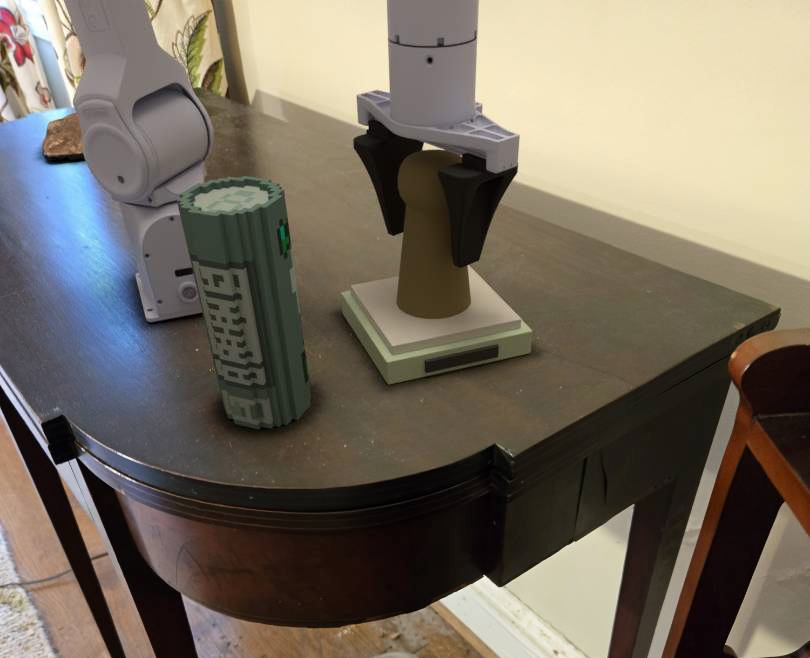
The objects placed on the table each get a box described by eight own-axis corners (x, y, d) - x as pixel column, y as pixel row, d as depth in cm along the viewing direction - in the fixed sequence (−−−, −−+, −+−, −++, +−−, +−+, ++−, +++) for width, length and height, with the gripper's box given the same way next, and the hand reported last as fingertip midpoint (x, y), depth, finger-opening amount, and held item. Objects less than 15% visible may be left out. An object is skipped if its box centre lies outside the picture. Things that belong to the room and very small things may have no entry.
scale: (532, 355, 61) (535, 323, 59) (389, 387, 58) (387, 354, 56) (470, 288, 69) (471, 258, 67) (342, 313, 66) (339, 283, 64)
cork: (465, 321, 59) (470, 171, 51) (388, 315, 60) (382, 167, 52) (476, 285, 63) (482, 142, 56) (404, 280, 64) (400, 138, 57)
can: (324, 390, 58) (299, 183, 47) (283, 436, 54) (247, 220, 43) (254, 374, 60) (216, 172, 49) (210, 417, 56) (158, 206, 45)
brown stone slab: (38, 139, 103) (28, 109, 100) (134, 125, 106) (127, 96, 103) (46, 166, 95) (35, 134, 92) (149, 149, 98) (142, 118, 96)
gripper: (560, 44, 47) (539, 261, 56) (407, 11, 55) (410, 205, 64) (476, 66, 44) (468, 291, 53) (327, 27, 52) (343, 229, 61)
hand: (432, 246), depth 59 cm, fingers open, 7 cm apart
